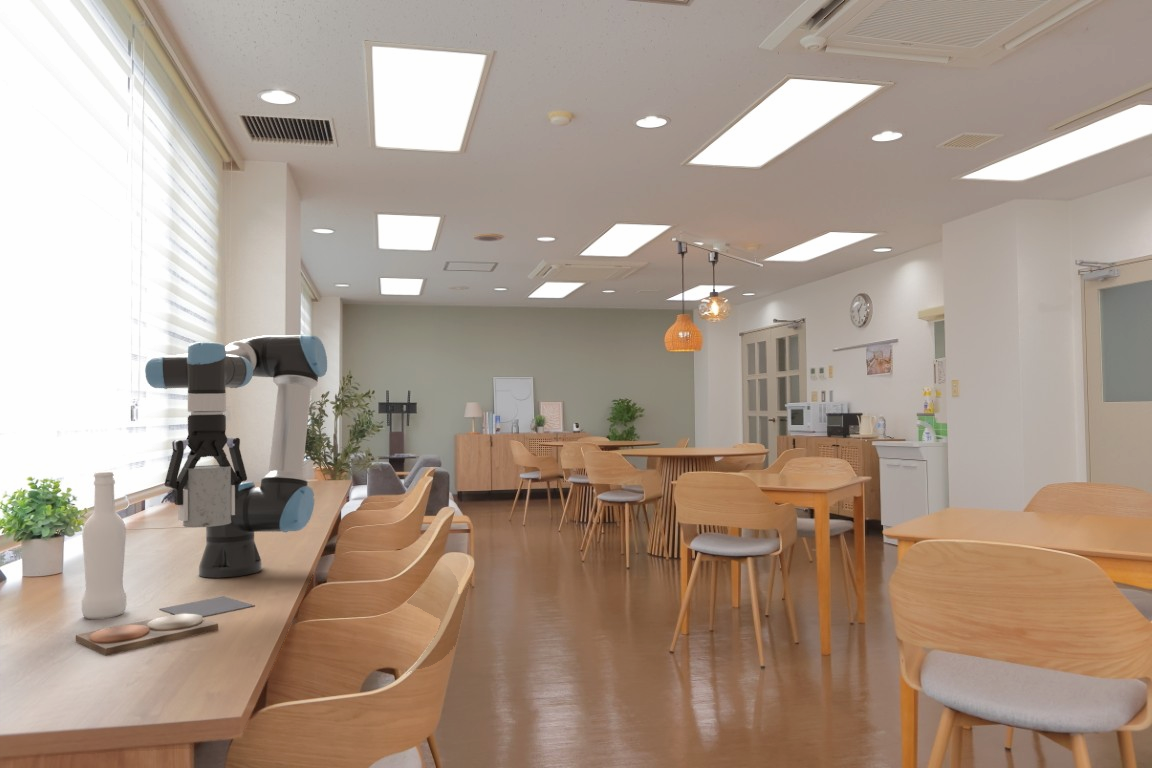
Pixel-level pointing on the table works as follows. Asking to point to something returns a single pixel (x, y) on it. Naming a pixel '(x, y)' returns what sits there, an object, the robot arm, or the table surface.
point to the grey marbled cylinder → (209, 496)
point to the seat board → (145, 633)
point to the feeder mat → (208, 606)
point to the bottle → (104, 554)
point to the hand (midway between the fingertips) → (207, 517)
